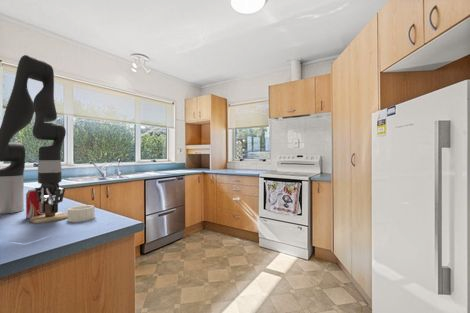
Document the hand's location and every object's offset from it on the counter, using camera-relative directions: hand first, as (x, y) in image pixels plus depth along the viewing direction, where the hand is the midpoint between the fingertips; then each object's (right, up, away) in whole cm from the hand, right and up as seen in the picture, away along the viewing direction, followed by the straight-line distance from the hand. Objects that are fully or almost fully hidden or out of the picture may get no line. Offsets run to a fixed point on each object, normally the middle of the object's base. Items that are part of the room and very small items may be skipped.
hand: (50, 212), depth 93 cm
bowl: (+13, -3, 0) cm, 13 cm away
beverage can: (-9, -3, +4) cm, 11 cm away
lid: (0, -3, 0) cm, 3 cm away
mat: (0, -3, 0) cm, 3 cm away
